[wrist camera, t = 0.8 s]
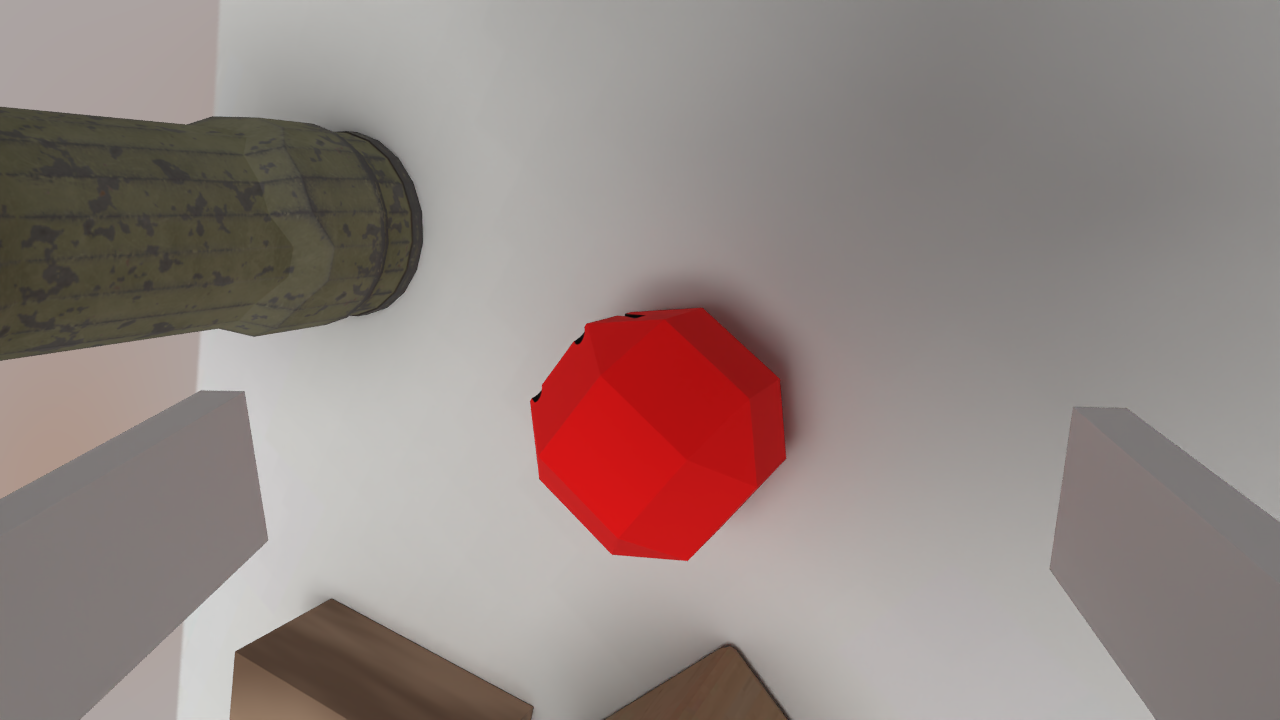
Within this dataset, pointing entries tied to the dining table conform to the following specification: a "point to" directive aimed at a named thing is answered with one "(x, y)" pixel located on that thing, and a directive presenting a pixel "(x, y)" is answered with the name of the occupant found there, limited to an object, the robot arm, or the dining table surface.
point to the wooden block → (707, 694)
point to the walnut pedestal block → (356, 676)
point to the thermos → (193, 228)
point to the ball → (657, 430)
